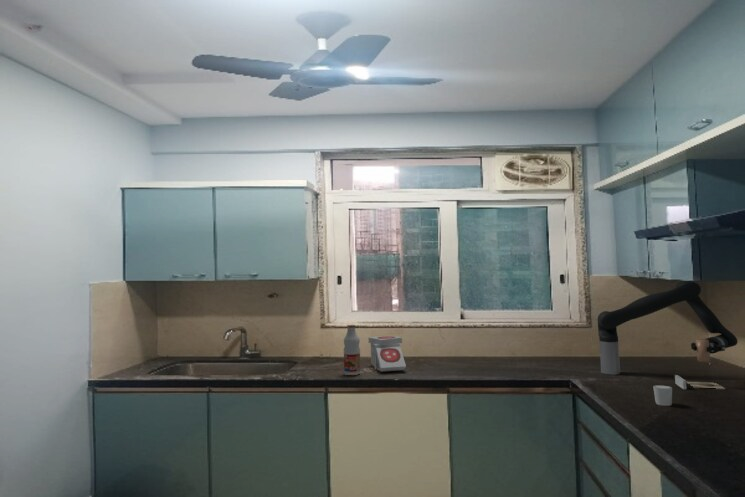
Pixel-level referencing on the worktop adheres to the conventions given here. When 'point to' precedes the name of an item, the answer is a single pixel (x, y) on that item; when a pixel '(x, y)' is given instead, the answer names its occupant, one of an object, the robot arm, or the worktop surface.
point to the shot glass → (663, 395)
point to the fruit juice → (351, 351)
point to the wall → (680, 382)
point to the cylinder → (702, 350)
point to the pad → (705, 385)
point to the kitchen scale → (387, 353)
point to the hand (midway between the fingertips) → (701, 348)
